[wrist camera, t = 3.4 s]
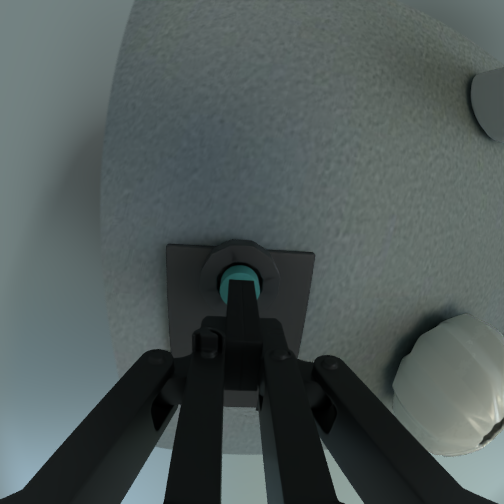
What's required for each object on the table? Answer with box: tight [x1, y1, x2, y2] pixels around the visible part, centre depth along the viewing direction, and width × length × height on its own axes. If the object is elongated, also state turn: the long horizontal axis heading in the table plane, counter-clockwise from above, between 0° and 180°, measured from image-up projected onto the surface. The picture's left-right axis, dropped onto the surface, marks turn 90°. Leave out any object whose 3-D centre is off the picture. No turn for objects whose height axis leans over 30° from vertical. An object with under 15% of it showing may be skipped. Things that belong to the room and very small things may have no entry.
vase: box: [392, 313, 504, 457], centre depth 19 cm, size 14×14×13 cm
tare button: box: [220, 265, 260, 304], centre depth 19 cm, size 3×3×2 cm
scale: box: [166, 239, 315, 407], centre depth 22 cm, size 17×11×2 cm, turn 176°
